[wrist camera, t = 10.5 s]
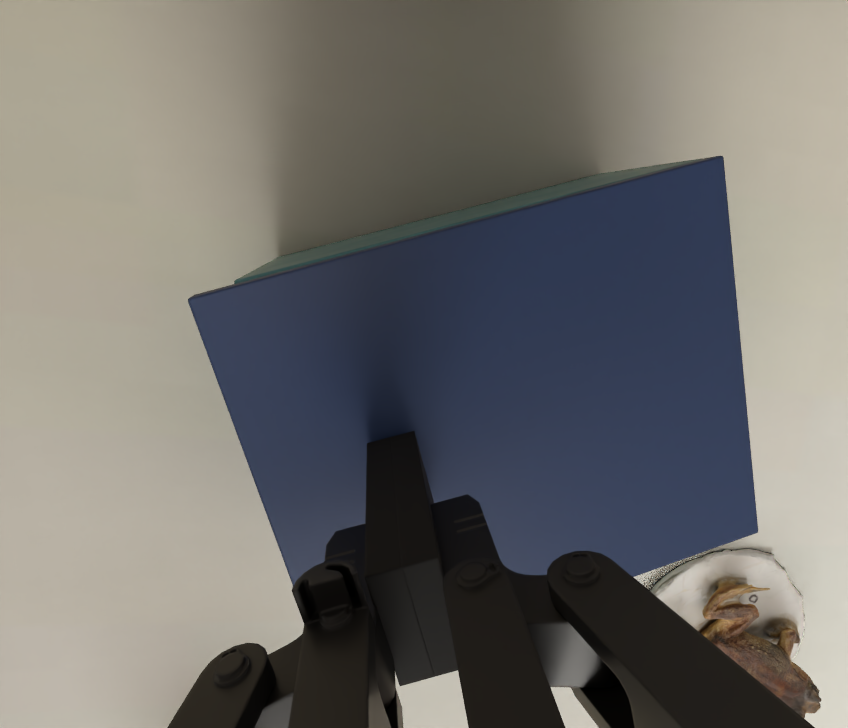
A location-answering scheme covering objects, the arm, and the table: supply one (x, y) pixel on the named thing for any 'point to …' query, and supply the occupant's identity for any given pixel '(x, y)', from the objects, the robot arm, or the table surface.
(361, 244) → the container
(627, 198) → the lid
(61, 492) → the table surface
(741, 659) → the plate of food
